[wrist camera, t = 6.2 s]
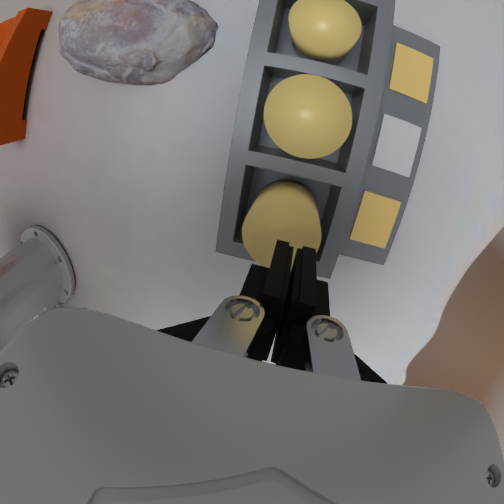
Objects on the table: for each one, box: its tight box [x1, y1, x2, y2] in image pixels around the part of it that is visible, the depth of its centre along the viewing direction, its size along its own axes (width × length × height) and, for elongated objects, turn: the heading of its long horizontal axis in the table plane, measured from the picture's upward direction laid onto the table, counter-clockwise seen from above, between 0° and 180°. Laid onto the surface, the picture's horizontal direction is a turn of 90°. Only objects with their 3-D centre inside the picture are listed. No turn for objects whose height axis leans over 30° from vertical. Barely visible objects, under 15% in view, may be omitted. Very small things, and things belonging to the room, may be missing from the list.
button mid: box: [264, 74, 352, 159], centre depth 15 cm, size 5×5×5 cm
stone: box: [59, 0, 218, 85], centre depth 18 cm, size 17×10×10 cm
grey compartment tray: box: [216, 0, 395, 279], centre depth 19 cm, size 22×9×6 cm, turn 170°
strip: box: [339, 25, 440, 265], centre depth 20 cm, size 22×5×1 cm, turn 170°
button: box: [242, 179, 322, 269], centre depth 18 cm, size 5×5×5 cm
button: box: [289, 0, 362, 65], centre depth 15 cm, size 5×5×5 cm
